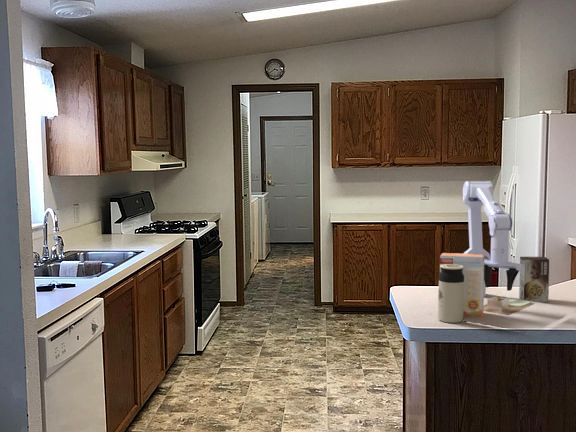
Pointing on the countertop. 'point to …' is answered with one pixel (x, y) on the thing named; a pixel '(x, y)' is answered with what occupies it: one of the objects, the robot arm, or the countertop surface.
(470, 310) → the cracker box
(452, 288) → the travel mug
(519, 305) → the board
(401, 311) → the countertop surface
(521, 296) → the coffee box
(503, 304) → the white square frame
